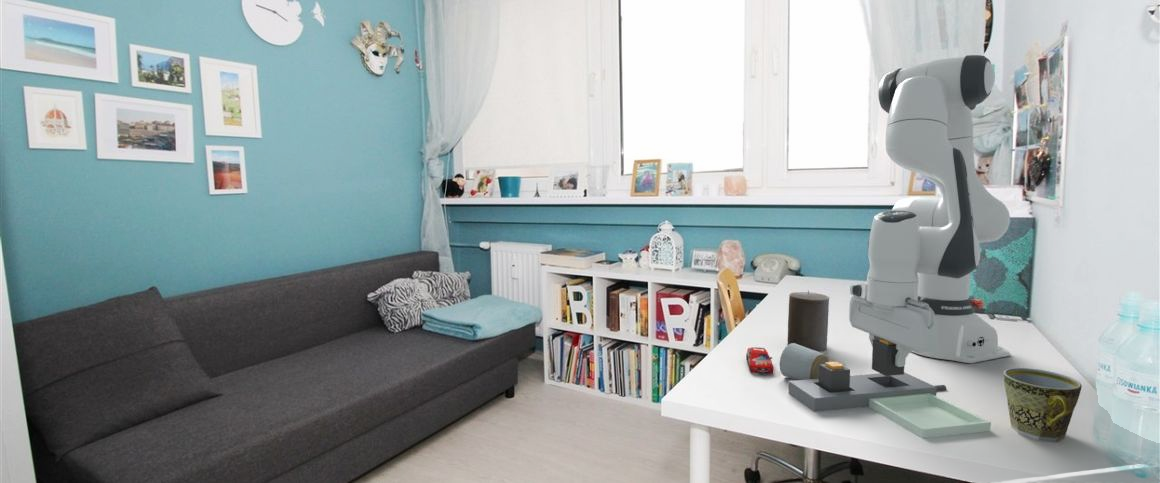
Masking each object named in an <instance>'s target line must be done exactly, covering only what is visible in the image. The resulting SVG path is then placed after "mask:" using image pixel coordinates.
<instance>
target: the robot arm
mask: <svg viewBox="0 0 1160 483" xmlns="http://www.w3.org/2000/svg"><path fill="white" fill-rule="evenodd" d="M995 75H996V74H995V69H994V67H993V65H992V62H991V60H990V59H989V58H987V57H986V56H985V55H982V54H981V55H980V54H968V55H967V54H966V55H965V57H964V56H962V57H961V56H960V57H950V58H949V57H948V58H942V59H935V60H931V61H928V62H925V63H919V64H915V65H912V66H908V67H905V68H901V67H900V68H896V69H894V70H891V71H890V72H887V73H886V74H884V76H883V77H882V79H881V80H880V82H879V84H878V94H877V96H878V101H879V104H880V107H881V109H882V110H883V111H884V112H885V113H887V114H888V116H887V122H886V129H885V151H886V154H887V155H888V157H889V158H890V160H891V161H893V163H895V164H897V165H898V166H899V167H901V168H904V169H906V170H907V171H910V172H914V173H917V174H919V175H921V177H923V179H925V180H927V181H929V182H932V183H933V184H935V187H937V189H938V190H939V192H940V194H941V195H916V196H911V197H905V198H901V199H899V200H898V201H896V203H895V204H894V206H893V207H892V209H891V210H886V211H882V212H879V213H876V214H875V215H874V216H873V219H872V223H871V228H870V233H869V238H868V241H867V242H868V243H867V258H868V260H869V269H868V272H867V276H866V282H862V283H854V284H851V285H850V287H849V294H850V295H851V297H850V299H849V300H850V301H849V308H848V309H849V310H848V312H849V313H848V314H849V315H848V316H849V317H848V318H849V319H848V320H849V323H850V325H851V327H852V328H854V329H857V330H860V331H863V332H865V333H866V334H867V333H868V335H869V336H868V339H869V342H870V344H871V347H872V348H873V340H879V338H882V339H884V340H887V341H889V342H892V343H894V344H896V349H897V350H898V352H897V354H896V356H892V360H893V361H892V364H893V365H896V366H898V367H904V368H905V366H906V358H907V357H908V356H909V354H910V353H914V354H917V355H920V356H923V357H929V358H933V359H940V360H948V361H955V362H960V363H965V364H974V363H979V362H985V361H990V360H994V359H1001V358H1004V357H1009V356H1010V355H1011V353H1010V351H1009V350H1008V349H1007V348H1004V347H1003V346H1000V345H999V339H998V338H999V337H998V332H997V330H996V329H995V327H994V326H992V325H991V324H990V323H989V322H987V321H986V320H985V319H983V318H982V317H980V316H979V315H978V314H977V313H975V311H976V310H975V308H978V309H982V308H984V307H985V301H984V300H982V299H977V298H973V299H971V298H970V287H971V286H970V285H971V273H973V271H975V270H976V269H977V268H978V265H979V263H980V260H981V247H980V244H981V243H990V242H996V241H998V240H999V239H1000V238H1003V236H1004V235H1005V234H1006V232H1007V231H1008V229H1009V226H1010V223H1011V216H1010V212H1009V210H1008V207H1007V206H1006V205H1005V203H1004V202H1003V201H1001V200H999V199H998V198H997V197H995V196H993V195H992V194H991V193H990V192H989V191H988V190H987V189H986V187H985V186H984V185H983V183H982V182H981V180H980V178H979V176H978V173H977V169H976V165H975V156H974V155H975V154H974V153H975V152H974V151H975V150H974V128H973V127H974V126H973V116H972V111H973V110H976V107H977V105H979V104H981V103H983V102H985V100H986V99H988V98H989V96H990V94H991V92H992V89H993V87H994V84H995V79H996V77H995ZM974 307H975V308H974Z"/></svg>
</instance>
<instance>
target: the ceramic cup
mask: <svg viewBox="0 0 1160 483" xmlns="http://www.w3.org/2000/svg"><path fill="white" fill-rule="evenodd" d="M1003 382H1004V389H1005V394H1006V401H1007V407H1008V414H1009V415H1008V416H1009V421H1010V428H1011V429H1013V431H1015V432H1016V433H1017V434H1018V435H1021V436H1023V437H1027V438H1030V439H1032V440H1035V441H1041V442H1050V443H1051V442H1052V443H1059V442H1061V441H1062V440H1064V439H1065V437H1066V435H1067V431H1068V428H1069V425H1070V422H1071V419H1072V416H1073V414H1074V410H1075V408H1076V406H1077V403H1078V402H1079V399H1080V395H1081V393H1082V392H1081V391H1082V387H1083V385H1082V384H1081V382H1080V381H1078V380H1076V379H1075V378H1073V377H1070V376H1067V375H1064V374H1061V373H1058V372H1053V371H1049V370H1043V369H1036V368H1026V367H1025V368H1024V367H1014V368H1013V367H1012V368H1007V369H1005V370H1004V371H1003Z"/></svg>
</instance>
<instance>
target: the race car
mask: <svg viewBox="0 0 1160 483" xmlns="http://www.w3.org/2000/svg"><path fill="white" fill-rule="evenodd" d="M745 356H746V362H747V367H748V368H749V369H748V370H749V372H750V373H751V374H756V375H773V374H774V368H775V367H774V364H773V362H772V359H773V357H772V356H770V355H769V352H768V350H766V348H765V347H755V346H754V347H752V346H751V347H748V348H747V350H746V355H745Z"/></svg>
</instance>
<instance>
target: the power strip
mask: <svg viewBox="0 0 1160 483" xmlns="http://www.w3.org/2000/svg"><path fill="white" fill-rule="evenodd" d="M940 391H947V386H946V385H945V384H939V385H933V384H932V383H928V382H926V381H925V380H922V379H920V378H918V377H916V376H914V375H911V374H908V373H907V372H905V371H904V375H891V376H885V375H883V374H881V373H879V372H877V373H868V374H857V375H851V369H850V368H848V367H846V366H845V365H844V364H842V363H840V362H837V361H829V362H825V364H819V379H807V380H788V394H789V395H790V396H791V397H793V398H794V399H796V400H797V401H799V402H800V403H802V404H803V405H804V406H806V407H807V408H808V409H810V410H811V411H813V412H815V413H817V412H826V411H835V410H836V411H837V410H848V409H857V408H858V409H859V408H870V407H869V399H873V398H883V397H894V396H905V395H916V394H926V393H931V394H933V395H935V396H937V392H940Z"/></svg>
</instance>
